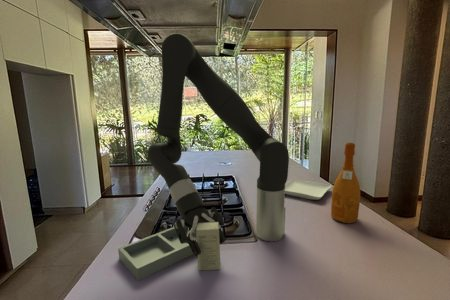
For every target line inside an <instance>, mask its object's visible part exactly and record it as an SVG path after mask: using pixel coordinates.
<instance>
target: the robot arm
mask: <svg viewBox="0 0 450 300" xmlns="http://www.w3.org/2000/svg"><path fill="white" fill-rule="evenodd" d="M161 67H162V69H161V71H162V72H161V73H162V74H161V75H162V76H161V79H162V80H161V93H160V94H161V95H160V101H159V107H158V108H159V110H158V114H157V115H158V117H157V122H156V123H157V125H156V133H157V134H158V135H159V136H161V137H164V138H167V139H166V140H167V142H159V143H158V142H157V143H153V144H151V145H150V146H149V147H148V148H147V158H148V161H149V163H150V164H151V166H152V167H153V168H154V170H155V171H156V172H157V173H158V174H159V175H160V176H161V177H162V178H163V179H164V181H165V183H166V186H167V187H168V190H169V192H170V196H171V198H172V201H173V202H174V205H175V207H176V209H177V212H178V213H179V216H180V217H181V218H182V219H181V220H180V219H177V220H176V221H175V222H174V224H173V227H174V228H175V230H176V233H177V235H178V238H179V241H180V243H181V244H183V243H188V244H189V246H190V248H191V250H192V252H193V255H195V256H196V257H197V256H198V255H199V254H201V250H200V248H199V246H198V244H197V242H196V240H194V237H195V232H196V226H197V223H208V222H218V223H219V243H220V245H222V244H224V243H225V242H226V237H225V235H224V232H223V230H222V227H223V226H224V224H225V222H224V220H223V218H222V216H221V214H220V212H219V211H218V210H217V208H216V207H215V206H212V208H211V209H209V210H208V209H206V207H205V206H206V205H205V203H204V201H203V199H202V197H201V195H200V192H198V189H197V188H196V186H195V184H194V182H193V181H192V180H191V177H190V176H189V174H188V172H187V170H186V169H185V167H184V166H183V165H181V164H176V163H178V162H179V161H180V160H181V157H182V152H183V150H182V144H181V135H180V130H181V124H182V116H183V105H184V104H183V101H184V99H183V98H184V97H183V95H184V87H185V81H186V79H188V80H189V81H190V82H191V83H192V84H193V85H194V87H195V88H196V90H197V91H198V93H199V94H200V96H201V97H202V99H203V100H204V102H205V103H206V104H207V105H208V107H209V108H210V109H211V111H212V112H214V114H215V115H216V116H217V117H218V119H220V120H221V122H223V123H224V124H225V125H226V126H227V127H228V128H229V129H230V130H232V132H234V134H236V135H238V136H239V137H240V138H241V139H242V140H243V141H244V142H245V144H246V145H247V146H248V148H249V149H250V150H251V151H252V153H253V155H254V156H255V158H256V159H257V160H258V161H259V175H258V177H257V178H256V212H255V213H256V215H255V216H256V219H255V220H256V221H255V222H256V223H255V236H257V238H258V239H260V240H262V241H266V242H278V241H279V240H283V237H284V234H285V231H286V207H285V195H286V194H285V184H286V183H287V182H288V181H287V180H288V176H289V163H290V154H289V150H288V147H287V146H286V145H285V144H284V143H283V142H281V141H280V140H277V139H276V138H274V137H273V136H272V135H270V133H268V132H267V131H266V130H265V128H263V127H262V126H261V125H260V123H259V122H258V121H257V119H256V118H255V116H254V114H253V112H252V111H251V109H250V107H249V106H248V105H247V103H246V102H245V100H243V98H242V97H241V96H240V95H239V94H238V92H237V91H236V90H235V89H234V88H233V87H232V86H231V85H230V84H229V83H228V82H227V81H226V80H225V79H223V78H222V77H221V76H220V75H219V74H217V72H215V70H213V69H212V68H211V67H210V65H209V64H208V63H207V62H206V61H205V58H204V57H202V55H201V53H200V52H199V51H198V49H197V48H196V46H195V45H194V43H193V41H191V39H190V38H189V37H188V36H186V35H185V34H182V33H178V32H174V33H169V35H167V36H166V37H165V38H164V40H163V42H162V44H161ZM184 225H186V226H187V227H188V233H187V235H188V236H187V235H186V233H185V230H184V228H183V227H184Z"/></svg>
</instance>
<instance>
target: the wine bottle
mask: <svg viewBox="0 0 450 300" xmlns="http://www.w3.org/2000/svg"><path fill="white" fill-rule="evenodd" d="M355 148H356V144H355V143H353V142H346V143H345V144H344V156H345V157H344V162H343V165H342V169H341V170H340V173H339V174H338V175H337V177H336V179H335V181H334V183H333V185H332V192H331V204H330V205H331V206H330V216H331V217H332V218H331V219H333V220H335V221H336V222H340V223H344V224H352V223H355V222H357V221H358V217H359V211H360V203H361V187H360V182H359V180H358V178H357V175H356V173H355V169H354V168H355V167H354V156H355V154H356V151H355Z"/></svg>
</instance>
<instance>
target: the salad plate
mask: <svg viewBox="0 0 450 300" xmlns="http://www.w3.org/2000/svg"><path fill="white" fill-rule="evenodd" d="M332 188H333V185H331V184H326V183H321V182H316V181H308V180H302V179H296V178H292V179H290V180H289V181H286V183H285V195H288V196H292V197H297V198H300V199H301V198H302V199H307V200H311V201H318V200H321V199H322V198H323V196H324V195H325V194H326V193H327V192H328V191H330V190H331V189H332Z"/></svg>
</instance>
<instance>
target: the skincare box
mask: <svg viewBox="0 0 450 300" xmlns="http://www.w3.org/2000/svg"><path fill="white" fill-rule="evenodd" d="M196 240H197V244H198V246H199V248H200V250H201V254H199V255H198V256H196V257H197V270H198V271H212V270H215V271H216V270H221V249H220V248H221V246H220V245H221V244H220V243H219V223H218V222H208V223H197V226H196Z"/></svg>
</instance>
